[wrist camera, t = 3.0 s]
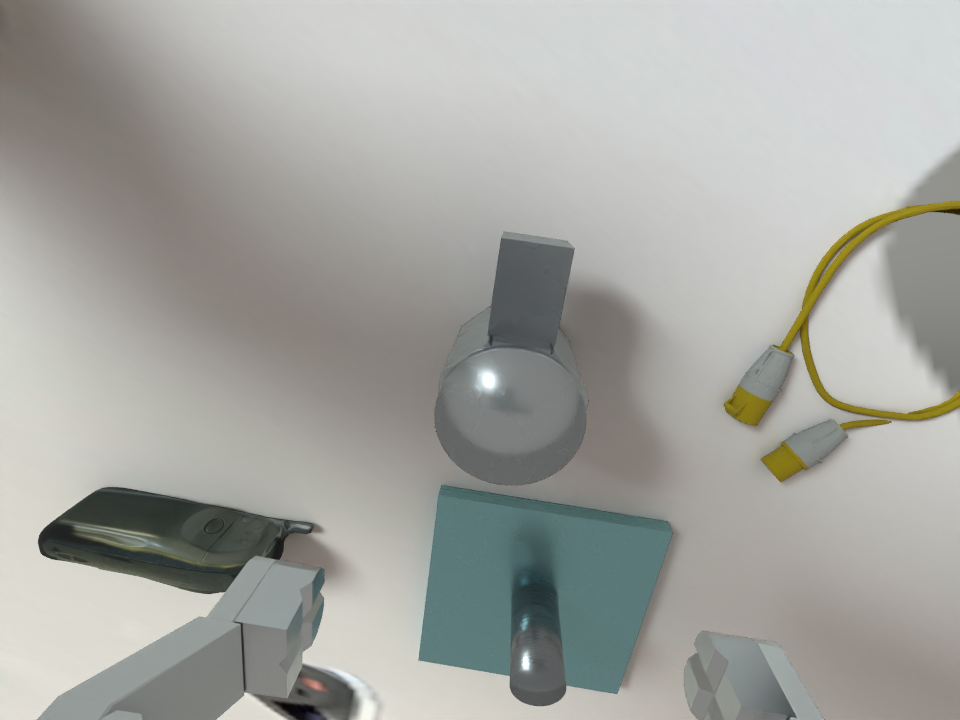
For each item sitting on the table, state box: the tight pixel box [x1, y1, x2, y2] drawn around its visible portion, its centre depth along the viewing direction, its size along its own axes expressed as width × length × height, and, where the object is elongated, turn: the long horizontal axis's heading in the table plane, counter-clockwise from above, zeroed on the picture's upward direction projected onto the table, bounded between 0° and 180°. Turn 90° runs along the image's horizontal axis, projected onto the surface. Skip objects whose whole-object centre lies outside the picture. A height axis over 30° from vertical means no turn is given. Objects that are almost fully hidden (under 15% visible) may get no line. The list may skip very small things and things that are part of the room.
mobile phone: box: [38, 487, 313, 594], centre depth 29 cm, size 5×3×15 cm
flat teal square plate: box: [419, 485, 673, 706], centre depth 28 cm, size 14×14×6 cm
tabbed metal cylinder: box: [435, 232, 589, 485], centre depth 22 cm, size 10×6×8 cm, turn 172°
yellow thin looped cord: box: [724, 201, 960, 482], centre depth 23 cm, size 12×16×2 cm
